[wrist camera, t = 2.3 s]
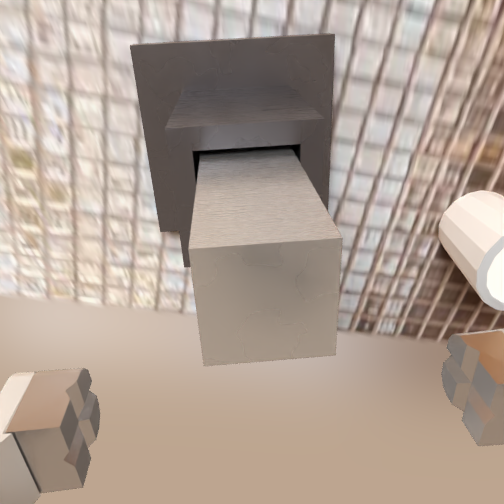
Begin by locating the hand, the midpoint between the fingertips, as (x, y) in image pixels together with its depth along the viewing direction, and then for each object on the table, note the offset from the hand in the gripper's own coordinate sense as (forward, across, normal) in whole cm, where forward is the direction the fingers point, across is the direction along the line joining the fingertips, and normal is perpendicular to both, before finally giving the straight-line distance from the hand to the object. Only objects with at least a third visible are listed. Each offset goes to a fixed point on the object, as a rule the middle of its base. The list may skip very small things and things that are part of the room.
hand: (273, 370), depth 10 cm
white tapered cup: (+22, +18, -8) cm, 30 cm away
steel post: (+21, 0, 0) cm, 21 cm away
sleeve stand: (+22, 0, 0) cm, 22 cm away
